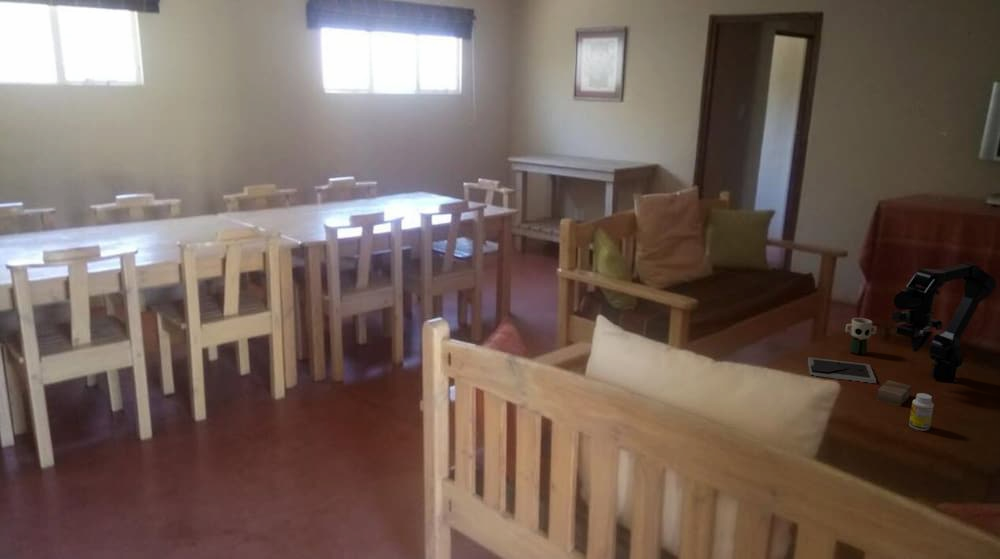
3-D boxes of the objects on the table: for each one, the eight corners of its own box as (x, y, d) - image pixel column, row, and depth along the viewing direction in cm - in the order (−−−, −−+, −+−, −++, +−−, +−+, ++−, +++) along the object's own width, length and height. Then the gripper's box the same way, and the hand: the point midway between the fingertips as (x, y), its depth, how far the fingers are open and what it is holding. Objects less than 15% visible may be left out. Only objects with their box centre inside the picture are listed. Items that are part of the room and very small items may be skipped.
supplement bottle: (910, 421, 225) (916, 390, 223) (931, 426, 222) (937, 395, 219) (906, 427, 221) (911, 396, 219) (927, 433, 218) (933, 401, 215)
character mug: (844, 354, 281) (849, 322, 278) (840, 348, 288) (844, 316, 285) (875, 357, 279) (880, 324, 276) (870, 350, 286) (875, 318, 283)
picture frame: (810, 377, 260) (875, 385, 254) (811, 370, 259) (876, 378, 253) (807, 362, 275) (868, 369, 268) (808, 355, 274) (869, 362, 268)
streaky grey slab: (888, 380, 248) (878, 389, 240) (911, 385, 243) (901, 395, 235) (886, 391, 249) (876, 400, 241) (909, 397, 244) (899, 407, 236)
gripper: (913, 297, 258) (906, 339, 262) (883, 305, 249) (877, 349, 253) (946, 305, 249) (939, 349, 253) (916, 313, 240) (909, 359, 244)
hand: (915, 351), depth 251 cm, fingers closed
